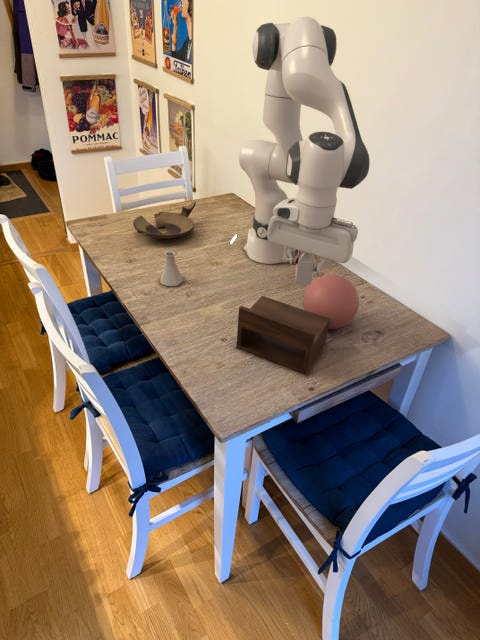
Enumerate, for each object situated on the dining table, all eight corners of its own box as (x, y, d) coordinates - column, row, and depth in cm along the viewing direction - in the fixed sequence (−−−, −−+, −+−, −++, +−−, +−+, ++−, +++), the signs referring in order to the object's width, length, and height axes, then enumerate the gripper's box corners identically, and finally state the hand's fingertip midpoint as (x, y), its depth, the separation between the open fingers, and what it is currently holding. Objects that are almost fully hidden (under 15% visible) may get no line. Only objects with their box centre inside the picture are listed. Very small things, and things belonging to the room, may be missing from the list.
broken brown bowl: (122, 229, 170) (120, 211, 165) (189, 215, 185) (189, 197, 180) (148, 253, 156) (147, 233, 151) (218, 235, 170) (219, 217, 166)
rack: (259, 321, 127) (263, 283, 119) (324, 345, 120) (333, 306, 112) (236, 347, 117) (238, 308, 109) (305, 375, 110) (313, 334, 102)
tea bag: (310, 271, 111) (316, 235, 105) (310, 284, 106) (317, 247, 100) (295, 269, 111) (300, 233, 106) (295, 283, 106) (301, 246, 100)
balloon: (320, 296, 140) (329, 253, 130) (363, 331, 126) (376, 285, 117) (280, 307, 133) (287, 263, 124) (321, 346, 119) (331, 299, 110)
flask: (178, 288, 138) (177, 260, 132) (156, 285, 139) (155, 257, 133) (185, 277, 144) (184, 250, 138) (164, 273, 145) (163, 246, 139)
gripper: (363, 219, 95) (350, 274, 103) (278, 198, 102) (272, 250, 111) (355, 229, 91) (342, 286, 99) (267, 206, 98) (261, 260, 106)
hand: (304, 267), depth 105 cm, fingers closed on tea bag, 4 cm apart
